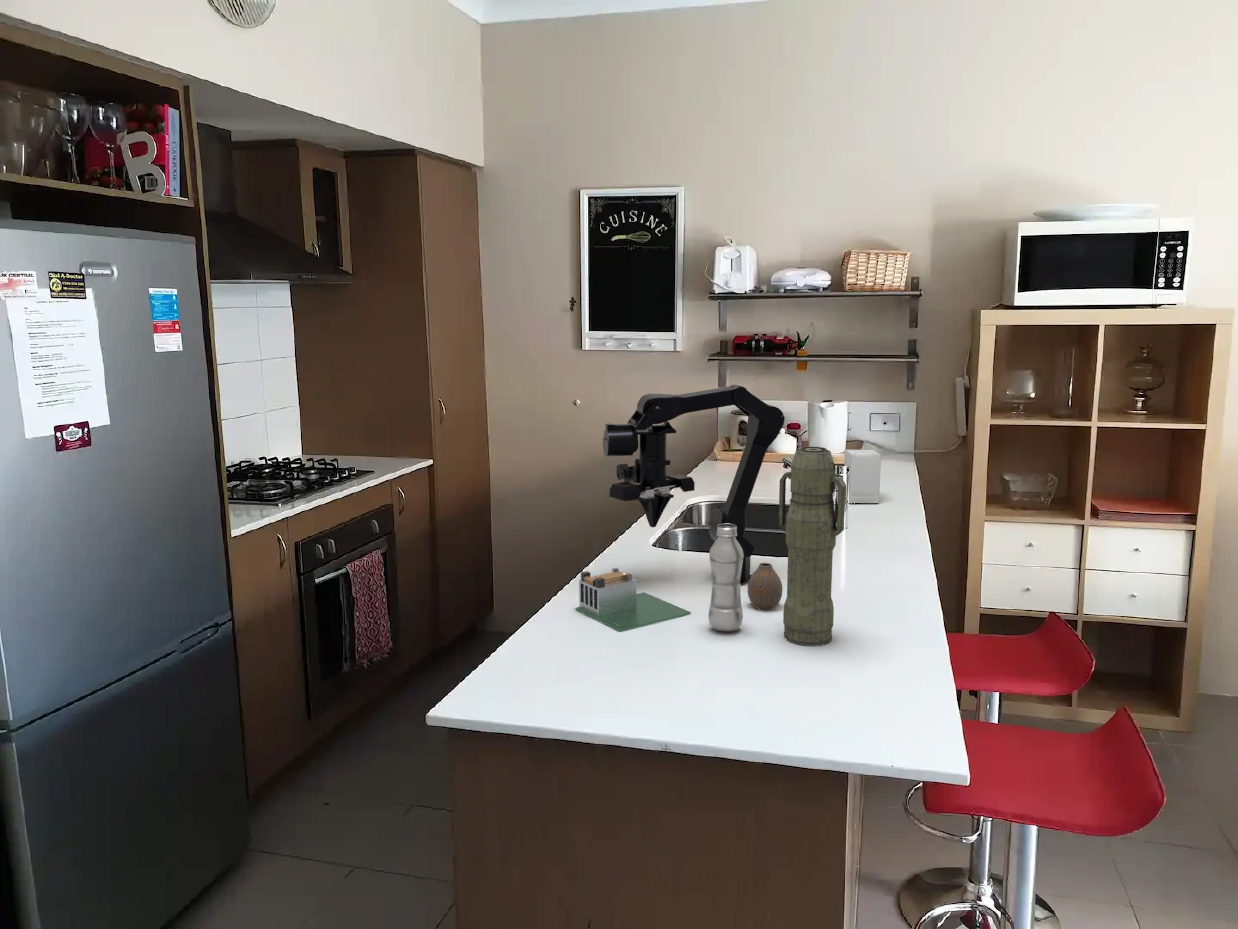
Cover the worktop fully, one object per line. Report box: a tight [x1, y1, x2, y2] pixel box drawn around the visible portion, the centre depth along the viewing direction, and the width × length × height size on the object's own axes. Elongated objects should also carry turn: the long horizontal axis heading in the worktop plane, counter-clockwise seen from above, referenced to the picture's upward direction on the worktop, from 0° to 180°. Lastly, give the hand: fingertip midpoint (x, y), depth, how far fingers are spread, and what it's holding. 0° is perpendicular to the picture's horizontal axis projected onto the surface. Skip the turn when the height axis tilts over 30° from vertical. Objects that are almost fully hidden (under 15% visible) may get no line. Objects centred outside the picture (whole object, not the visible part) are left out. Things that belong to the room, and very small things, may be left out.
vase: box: [747, 562, 783, 610], centre depth 193 cm, size 7×7×9 cm
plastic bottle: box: [708, 524, 744, 632], centre depth 179 cm, size 6×7×20 cm
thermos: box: [778, 446, 846, 647], centre depth 173 cm, size 9×12×35 cm
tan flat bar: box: [584, 570, 627, 586], centre depth 191 cm, size 8×3×1 cm, turn 125°
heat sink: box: [575, 567, 692, 633], centre depth 190 cm, size 17×16×8 cm
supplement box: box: [843, 449, 882, 505], centre depth 286 cm, size 9×9×15 cm
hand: (652, 526), depth 205 cm, fingers closed
